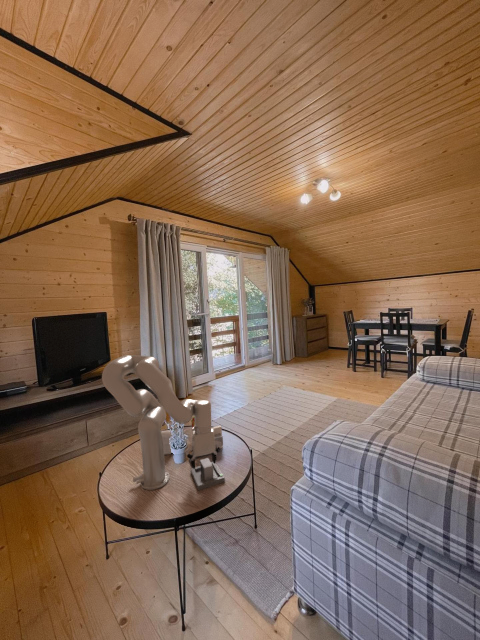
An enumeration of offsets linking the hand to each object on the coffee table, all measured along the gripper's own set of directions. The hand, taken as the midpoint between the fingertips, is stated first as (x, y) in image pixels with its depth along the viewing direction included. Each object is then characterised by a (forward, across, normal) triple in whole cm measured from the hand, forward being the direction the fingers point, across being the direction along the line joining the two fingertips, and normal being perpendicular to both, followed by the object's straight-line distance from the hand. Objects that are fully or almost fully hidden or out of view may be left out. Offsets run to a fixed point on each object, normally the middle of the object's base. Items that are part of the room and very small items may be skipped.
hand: (203, 464), depth 123 cm
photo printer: (+7, -13, +30) cm, 34 cm away
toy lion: (+7, +8, +31) cm, 33 cm away
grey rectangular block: (+5, +1, -1) cm, 5 cm away
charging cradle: (+6, +1, -1) cm, 6 cm away
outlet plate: (+6, +9, +18) cm, 22 cm away
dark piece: (+6, +5, +12) cm, 14 cm away
